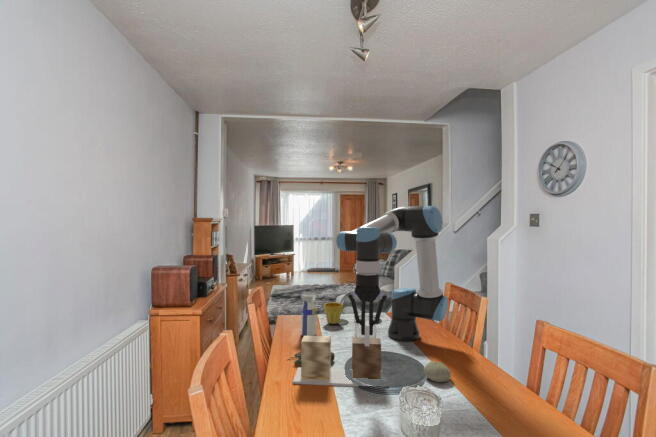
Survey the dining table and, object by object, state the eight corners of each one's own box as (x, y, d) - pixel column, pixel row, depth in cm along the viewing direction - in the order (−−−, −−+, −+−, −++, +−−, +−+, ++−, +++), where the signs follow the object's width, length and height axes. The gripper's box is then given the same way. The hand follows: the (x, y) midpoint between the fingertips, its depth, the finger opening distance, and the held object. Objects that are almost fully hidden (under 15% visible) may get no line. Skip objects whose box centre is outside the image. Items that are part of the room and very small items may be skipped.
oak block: (330, 371, 123) (330, 336, 123) (329, 379, 117) (329, 342, 117) (303, 370, 123) (303, 335, 123) (301, 378, 117) (301, 341, 117)
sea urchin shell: (449, 366, 123) (451, 358, 117) (449, 389, 118) (451, 382, 112) (424, 362, 126) (424, 354, 120) (423, 384, 121) (423, 377, 115)
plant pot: (336, 326, 178) (336, 307, 178) (320, 323, 183) (320, 305, 183) (345, 321, 187) (345, 303, 187) (329, 318, 192) (330, 301, 192)
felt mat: (385, 373, 123) (385, 370, 123) (389, 387, 112) (389, 385, 112) (298, 369, 126) (298, 367, 126) (292, 383, 115) (292, 381, 115)
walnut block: (379, 373, 121) (379, 338, 121) (381, 381, 115) (381, 344, 115) (352, 372, 122) (352, 337, 122) (352, 380, 116) (352, 343, 116)
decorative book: (299, 352, 143) (299, 341, 143) (335, 361, 135) (335, 348, 135) (280, 364, 131) (280, 351, 131) (318, 374, 123) (318, 361, 123)
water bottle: (320, 332, 168) (320, 283, 168) (310, 337, 160) (311, 285, 161) (307, 329, 172) (307, 281, 172) (297, 334, 165) (297, 284, 165)
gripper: (386, 272, 113) (385, 341, 113) (348, 271, 115) (347, 339, 114) (388, 275, 106) (387, 349, 106) (347, 274, 107) (346, 348, 107)
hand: (366, 344), depth 110 cm, fingers closed
